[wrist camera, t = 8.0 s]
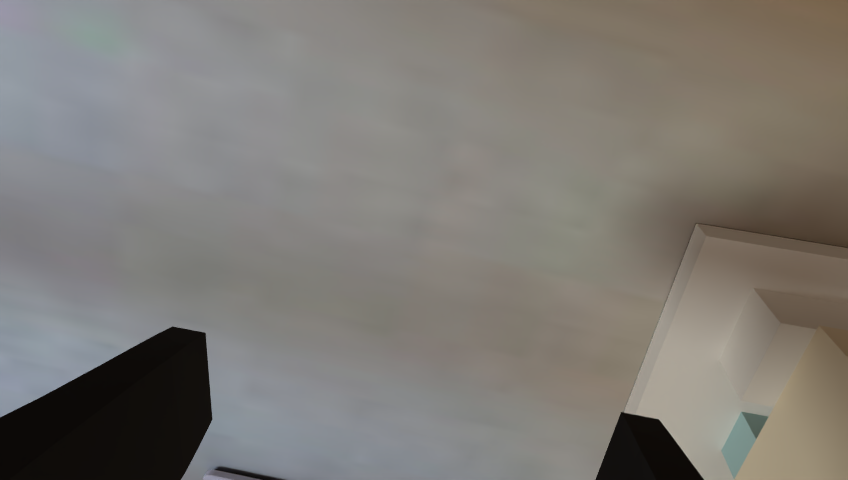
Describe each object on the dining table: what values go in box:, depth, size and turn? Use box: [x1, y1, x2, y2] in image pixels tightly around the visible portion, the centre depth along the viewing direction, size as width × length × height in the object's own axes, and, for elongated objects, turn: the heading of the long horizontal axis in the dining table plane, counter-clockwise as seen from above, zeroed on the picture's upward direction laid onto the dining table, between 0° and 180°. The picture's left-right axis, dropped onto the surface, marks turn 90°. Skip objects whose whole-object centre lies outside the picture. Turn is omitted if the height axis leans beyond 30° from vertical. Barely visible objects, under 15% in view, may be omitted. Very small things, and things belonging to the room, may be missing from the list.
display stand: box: [624, 223, 848, 480], centre depth 19 cm, size 15×10×3 cm, turn 173°
